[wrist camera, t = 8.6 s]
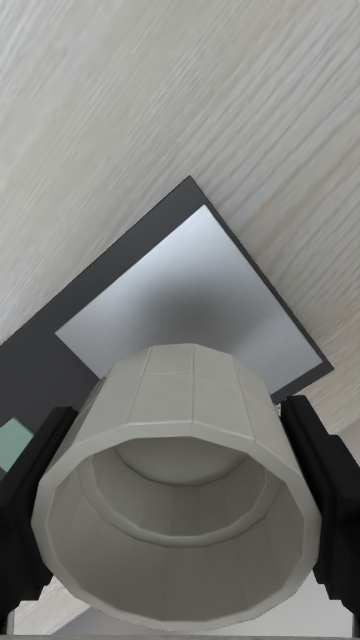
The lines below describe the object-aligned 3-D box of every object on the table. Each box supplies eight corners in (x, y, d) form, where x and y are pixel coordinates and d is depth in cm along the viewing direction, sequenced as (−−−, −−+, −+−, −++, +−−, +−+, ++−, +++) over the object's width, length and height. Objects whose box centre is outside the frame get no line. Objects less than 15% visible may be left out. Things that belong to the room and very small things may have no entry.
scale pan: (203, 203, 16) (204, 203, 15) (319, 357, 18) (323, 362, 18) (57, 329, 19) (53, 333, 18) (175, 448, 21) (175, 455, 20)
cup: (275, 331, 10) (332, 415, 6) (272, 489, 12) (312, 631, 8) (75, 343, 11) (-3, 429, 7) (106, 493, 13) (64, 630, 9)
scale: (190, 179, 18) (189, 174, 16) (319, 352, 21) (336, 371, 19) (-54, 398, 24) (-83, 420, 21) (76, 507, 27) (64, 538, 25)
